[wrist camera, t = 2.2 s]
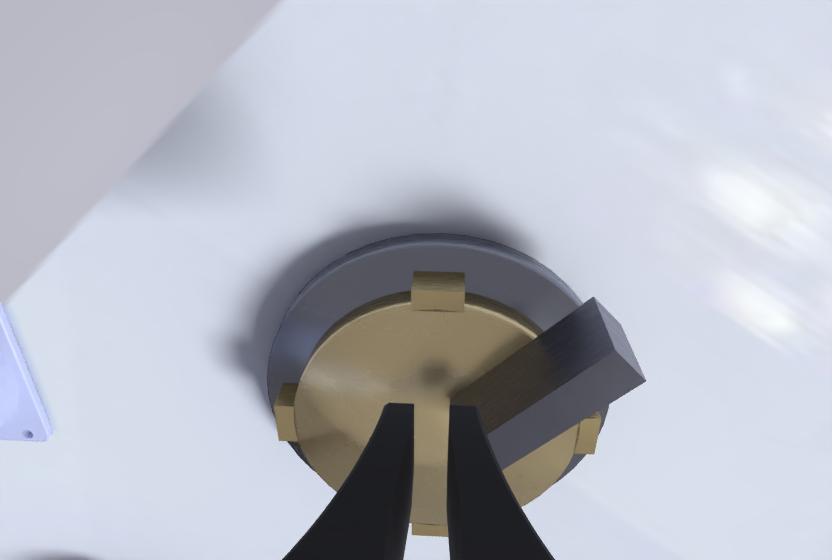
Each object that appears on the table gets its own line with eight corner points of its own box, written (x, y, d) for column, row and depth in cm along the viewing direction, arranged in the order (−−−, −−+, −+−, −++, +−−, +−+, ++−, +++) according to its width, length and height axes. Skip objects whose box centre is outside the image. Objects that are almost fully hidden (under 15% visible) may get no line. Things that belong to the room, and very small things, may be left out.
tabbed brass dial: (299, 502, 27) (274, 593, 23) (267, 266, 21) (225, 336, 17) (569, 516, 26) (589, 611, 22) (616, 276, 20) (654, 351, 16)
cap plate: (292, 488, 29) (286, 508, 28) (254, 229, 22) (244, 242, 21) (579, 501, 28) (583, 523, 27) (632, 238, 21) (641, 252, 20)
